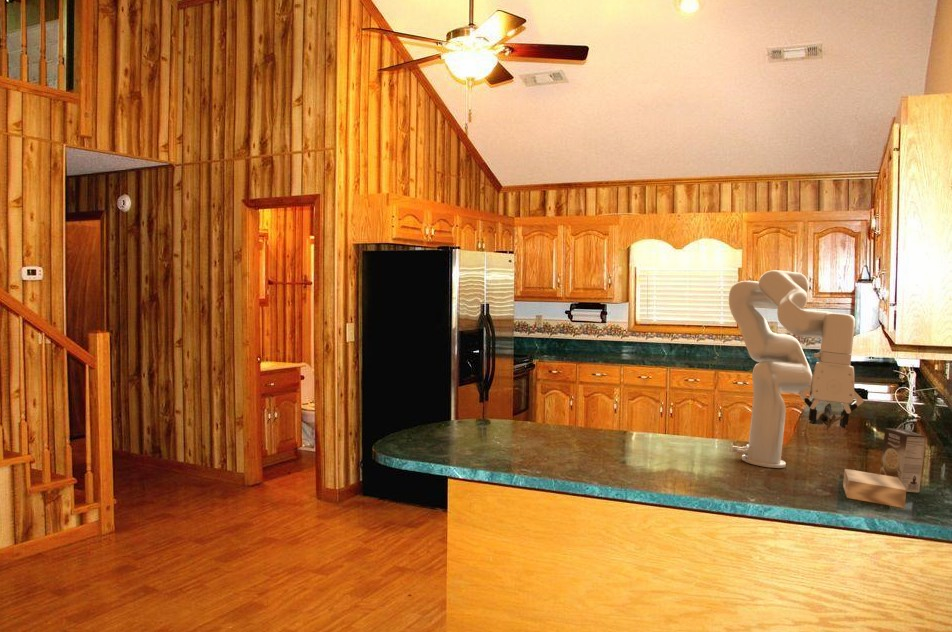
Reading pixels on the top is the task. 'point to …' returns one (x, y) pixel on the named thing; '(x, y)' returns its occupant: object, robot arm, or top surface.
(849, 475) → the maple block
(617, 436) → the top surface
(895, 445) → the coffee box
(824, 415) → the eagle figurine
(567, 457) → the top surface
